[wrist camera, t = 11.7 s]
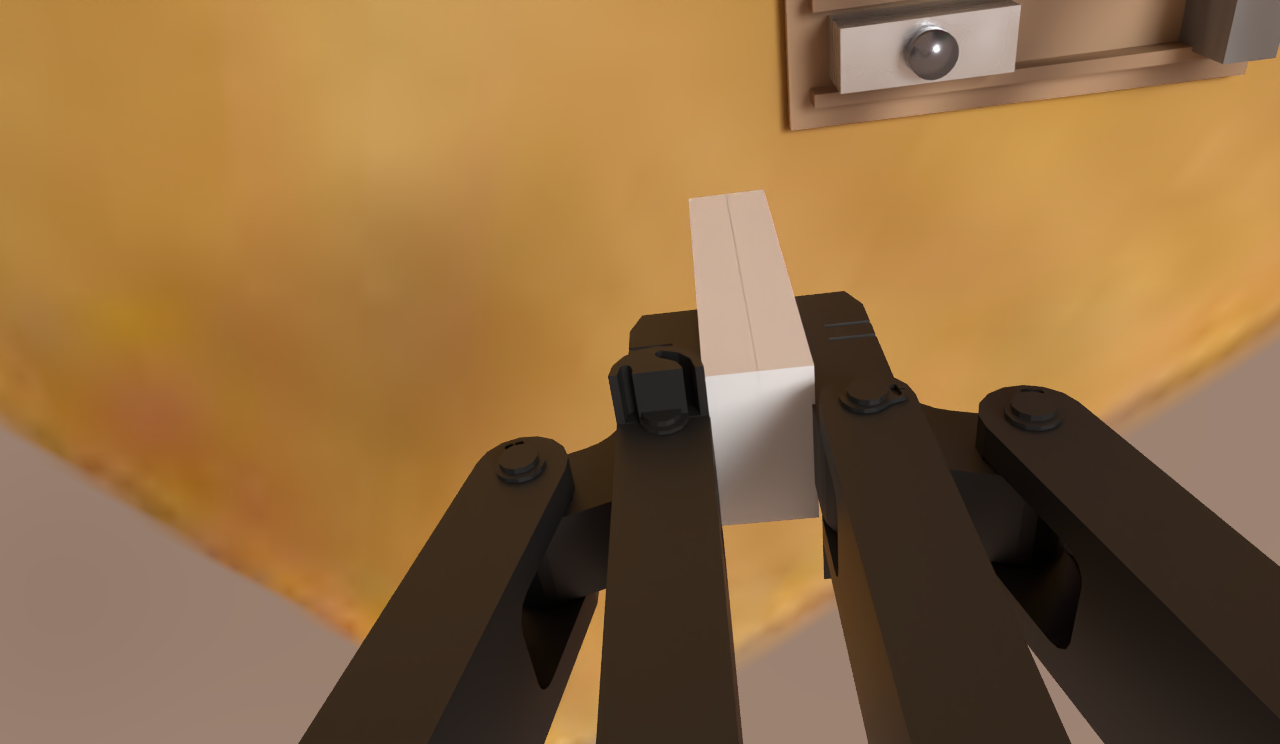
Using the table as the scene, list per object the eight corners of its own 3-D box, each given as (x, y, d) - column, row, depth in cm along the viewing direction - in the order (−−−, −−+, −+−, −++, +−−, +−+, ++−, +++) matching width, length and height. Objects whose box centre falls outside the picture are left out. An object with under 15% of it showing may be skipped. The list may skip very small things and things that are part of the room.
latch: (828, 76, 32) (844, 100, 30) (827, 15, 31) (844, 33, 28) (990, 55, 32) (1022, 77, 29) (996, -8, 31) (1029, 9, 28)
